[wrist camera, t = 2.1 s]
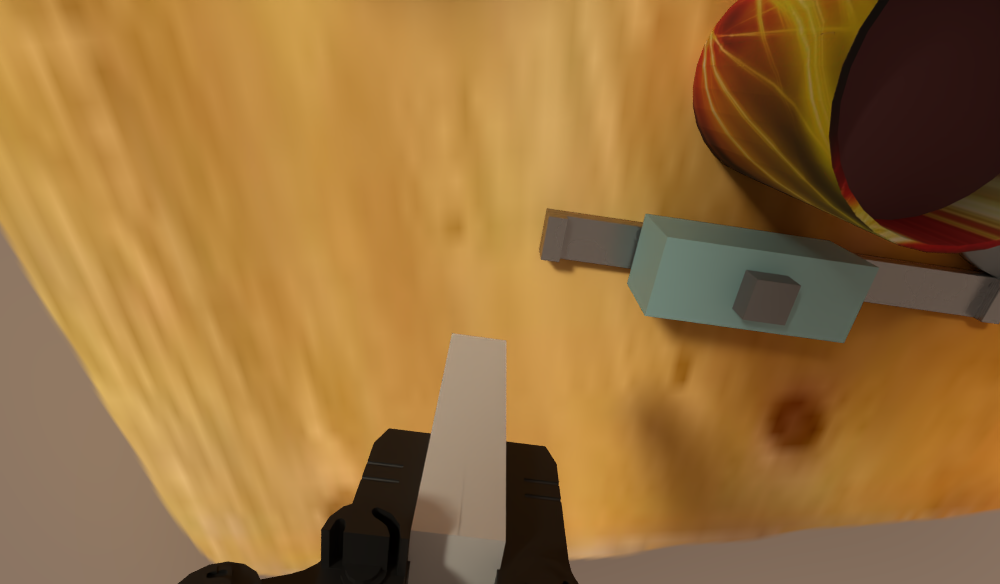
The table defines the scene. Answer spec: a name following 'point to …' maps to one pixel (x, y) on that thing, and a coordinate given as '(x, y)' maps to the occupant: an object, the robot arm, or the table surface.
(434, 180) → the table surface
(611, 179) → the table surface
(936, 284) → the rail
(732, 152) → the mug
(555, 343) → the table surface
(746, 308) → the latch block
